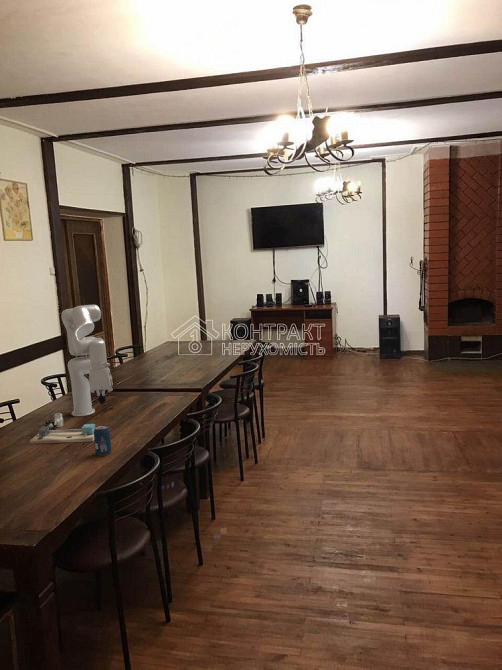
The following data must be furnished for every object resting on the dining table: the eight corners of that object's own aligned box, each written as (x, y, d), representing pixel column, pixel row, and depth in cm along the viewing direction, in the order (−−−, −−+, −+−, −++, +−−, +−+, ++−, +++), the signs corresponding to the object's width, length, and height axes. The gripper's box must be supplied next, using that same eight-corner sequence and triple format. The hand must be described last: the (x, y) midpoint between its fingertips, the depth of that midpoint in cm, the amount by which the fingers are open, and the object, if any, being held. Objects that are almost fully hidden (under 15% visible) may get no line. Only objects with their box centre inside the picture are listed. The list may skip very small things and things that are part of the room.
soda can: (105, 449, 242) (103, 423, 241) (115, 452, 238) (112, 426, 236) (92, 454, 237) (89, 428, 235) (101, 457, 233) (99, 430, 231)
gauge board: (40, 435, 266) (39, 425, 266) (100, 432, 265) (99, 423, 265) (30, 443, 254) (28, 433, 254) (92, 441, 254) (91, 431, 253)
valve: (55, 425, 282) (44, 432, 270) (54, 412, 281) (42, 420, 269) (67, 424, 281) (56, 432, 270) (66, 412, 280) (55, 419, 269)
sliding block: (85, 431, 263) (84, 424, 263) (95, 430, 263) (95, 423, 263) (80, 436, 256) (79, 429, 255) (90, 436, 256) (89, 429, 255)
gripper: (116, 363, 259) (120, 400, 262) (86, 365, 259) (89, 402, 262) (112, 367, 252) (116, 404, 254) (80, 368, 252) (84, 406, 255)
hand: (102, 403), depth 258 cm, fingers closed
